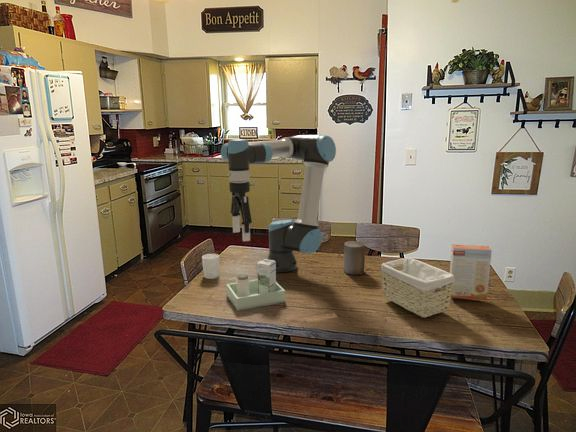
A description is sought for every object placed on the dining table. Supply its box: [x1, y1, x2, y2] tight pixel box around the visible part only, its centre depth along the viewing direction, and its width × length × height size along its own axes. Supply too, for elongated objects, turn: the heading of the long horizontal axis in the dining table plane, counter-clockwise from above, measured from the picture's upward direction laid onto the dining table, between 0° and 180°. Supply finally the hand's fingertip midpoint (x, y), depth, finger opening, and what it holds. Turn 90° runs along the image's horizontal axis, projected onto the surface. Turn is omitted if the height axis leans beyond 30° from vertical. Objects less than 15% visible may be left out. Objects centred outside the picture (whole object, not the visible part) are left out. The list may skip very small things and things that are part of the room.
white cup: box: [201, 253, 220, 280], centre depth 189 cm, size 8×8×10 cm
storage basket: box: [380, 257, 455, 318], centre depth 159 cm, size 24×16×15 cm
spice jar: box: [236, 273, 250, 298], centre depth 163 cm, size 5×5×10 cm
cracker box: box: [449, 243, 493, 301], centre depth 165 cm, size 14×6×21 cm, turn 76°
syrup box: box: [256, 258, 277, 294], centre depth 166 cm, size 6×6×14 cm
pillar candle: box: [343, 240, 366, 275], centre depth 194 cm, size 10×10×15 cm
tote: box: [226, 278, 286, 312], centre depth 165 cm, size 20×16×5 cm
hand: (241, 236), depth 158 cm, fingers open, 13 cm apart
